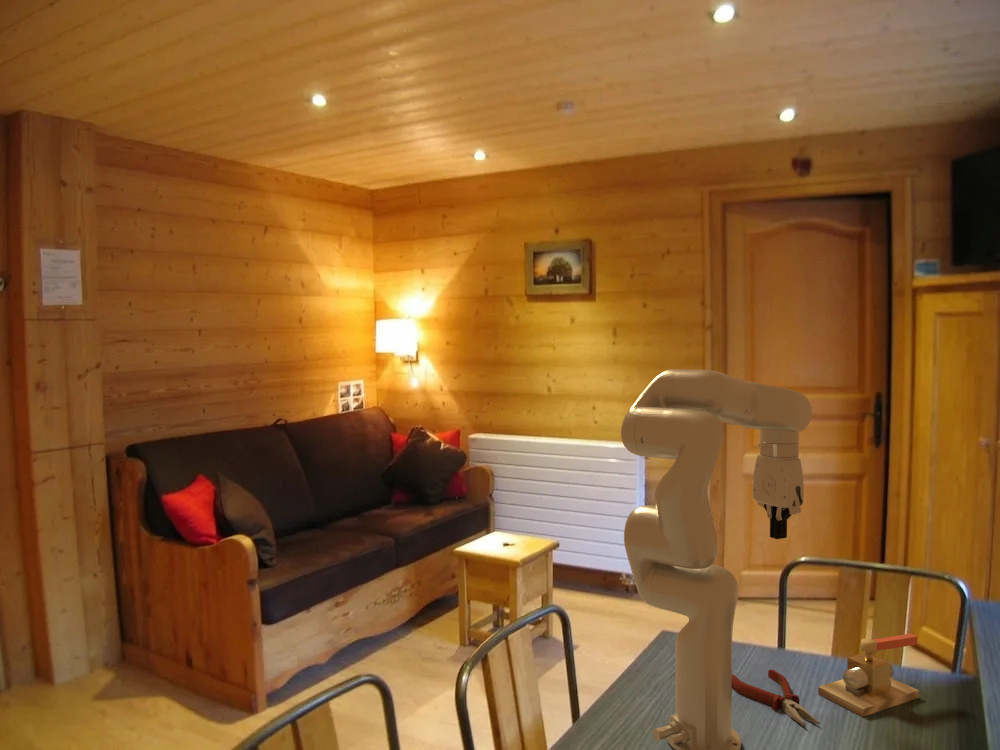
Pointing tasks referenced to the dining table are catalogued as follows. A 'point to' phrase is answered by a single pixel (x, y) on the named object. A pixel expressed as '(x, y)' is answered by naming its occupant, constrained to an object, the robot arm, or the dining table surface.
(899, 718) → the dining table surface
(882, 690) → the valve body
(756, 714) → the dining table surface
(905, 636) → the valve lever
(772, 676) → the pliers
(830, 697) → the mounting board
